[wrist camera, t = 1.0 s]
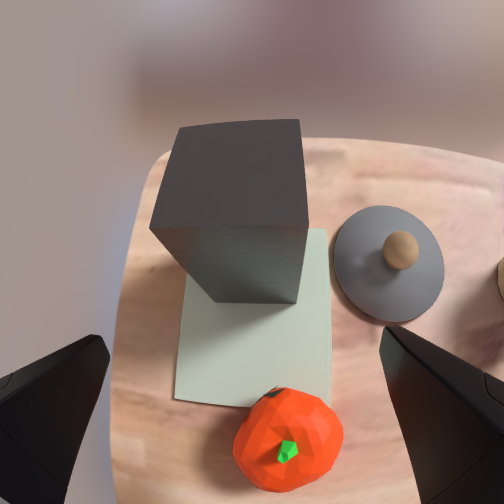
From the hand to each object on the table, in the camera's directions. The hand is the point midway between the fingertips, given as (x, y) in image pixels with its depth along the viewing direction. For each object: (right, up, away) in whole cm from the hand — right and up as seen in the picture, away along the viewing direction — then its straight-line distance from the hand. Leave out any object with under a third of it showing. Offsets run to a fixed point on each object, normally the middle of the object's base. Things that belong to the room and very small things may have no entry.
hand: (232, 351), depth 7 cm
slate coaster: (+13, +2, +14) cm, 19 cm away
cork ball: (+13, +2, +14) cm, 19 cm away
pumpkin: (+3, -11, +9) cm, 15 cm away
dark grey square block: (+1, +2, +15) cm, 15 cm away
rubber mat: (+1, -2, +14) cm, 14 cm away
